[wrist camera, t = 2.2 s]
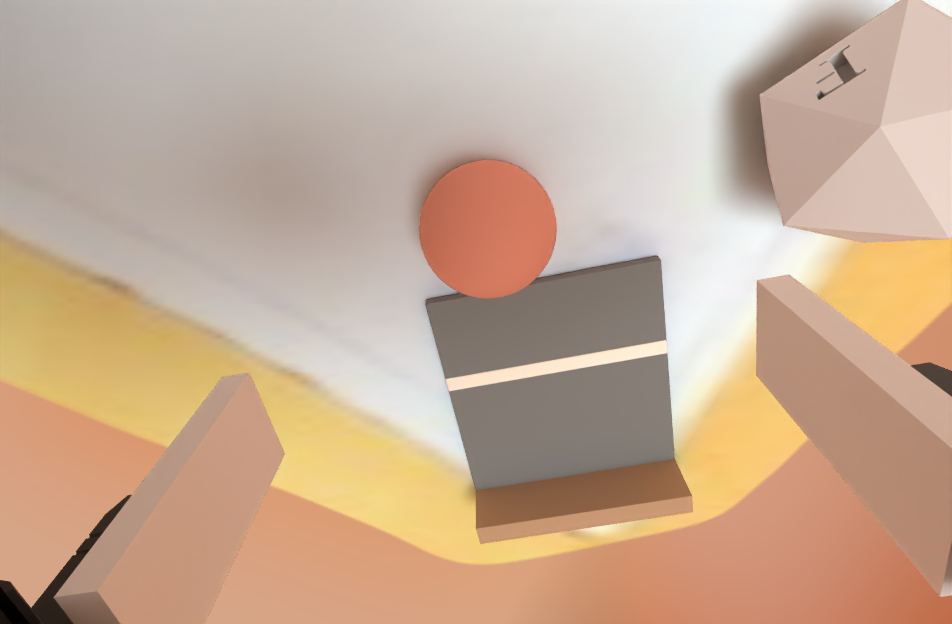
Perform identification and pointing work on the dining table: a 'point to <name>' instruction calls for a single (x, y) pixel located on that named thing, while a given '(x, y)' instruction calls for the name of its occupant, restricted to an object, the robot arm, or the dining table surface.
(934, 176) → the die
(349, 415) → the dining table surface
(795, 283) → the robot arm
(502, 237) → the ball
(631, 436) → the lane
